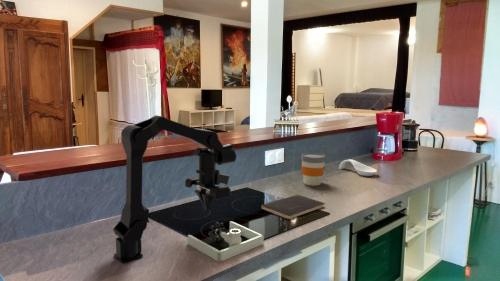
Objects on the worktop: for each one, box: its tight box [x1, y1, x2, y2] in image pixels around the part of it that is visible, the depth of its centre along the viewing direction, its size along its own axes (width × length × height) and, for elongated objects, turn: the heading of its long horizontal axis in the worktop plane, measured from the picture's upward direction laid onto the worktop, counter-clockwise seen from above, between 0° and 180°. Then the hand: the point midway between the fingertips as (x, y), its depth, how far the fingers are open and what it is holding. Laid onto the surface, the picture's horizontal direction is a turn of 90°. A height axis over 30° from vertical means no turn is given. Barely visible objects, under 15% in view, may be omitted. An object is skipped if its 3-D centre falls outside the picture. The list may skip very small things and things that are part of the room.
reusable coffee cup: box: [300, 152, 326, 187], centre depth 197 cm, size 13×13×15 cm
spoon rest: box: [338, 158, 378, 177], centre depth 221 cm, size 24×12×7 cm, turn 39°
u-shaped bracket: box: [187, 220, 265, 263], centre depth 124 cm, size 19×16×3 cm
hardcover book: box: [260, 194, 326, 220], centre depth 160 cm, size 16×23×2 cm
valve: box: [208, 221, 243, 248], centre depth 122 cm, size 7×7×12 cm
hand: (207, 210), depth 131 cm, fingers closed
